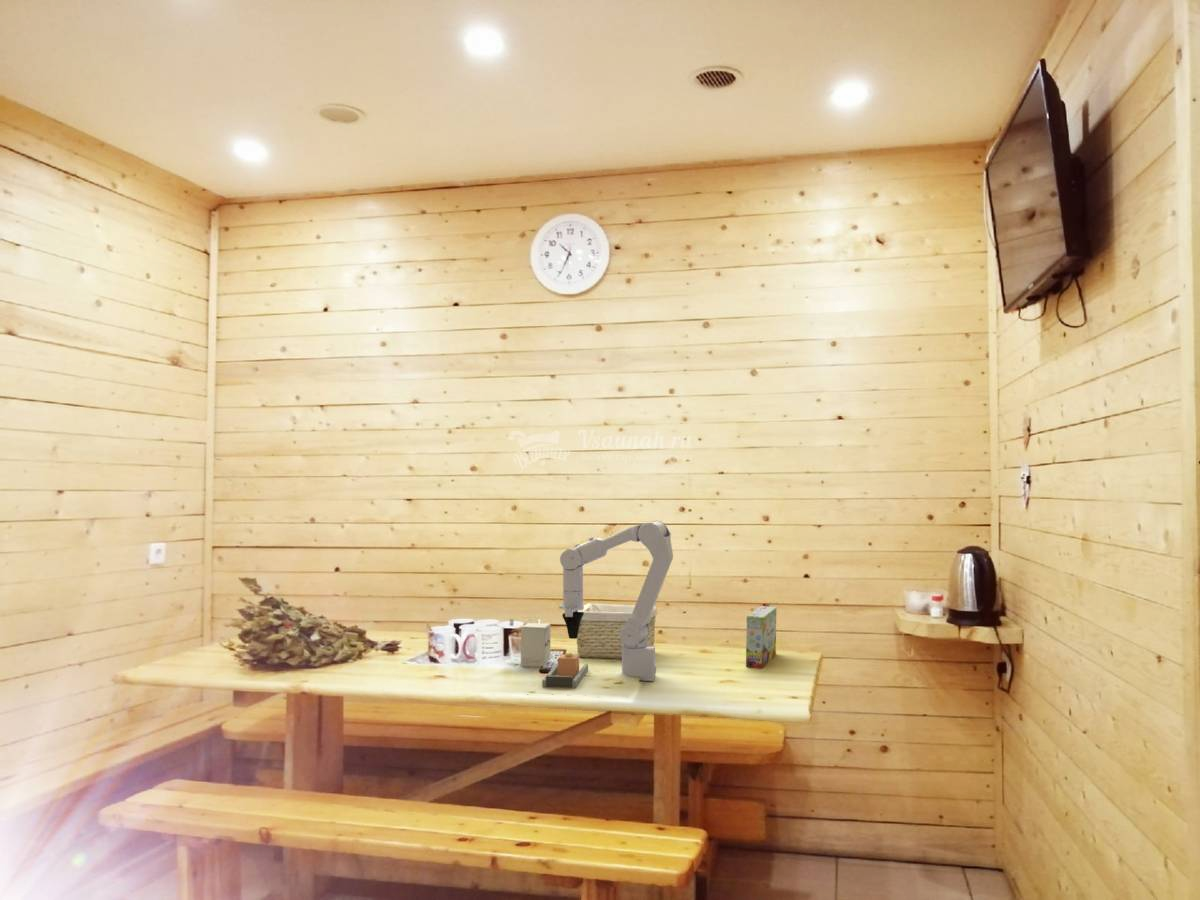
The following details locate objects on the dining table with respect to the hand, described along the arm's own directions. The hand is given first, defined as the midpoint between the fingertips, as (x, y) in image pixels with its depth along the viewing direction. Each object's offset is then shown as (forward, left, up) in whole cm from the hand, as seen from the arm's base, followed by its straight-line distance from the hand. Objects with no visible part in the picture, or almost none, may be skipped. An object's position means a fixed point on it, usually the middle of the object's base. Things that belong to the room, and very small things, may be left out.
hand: (573, 638), depth 245 cm
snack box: (-54, -22, -10) cm, 59 cm away
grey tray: (0, +12, -10) cm, 15 cm away
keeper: (0, +8, -9) cm, 11 cm away
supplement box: (+12, -4, -10) cm, 16 cm away
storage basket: (-9, -26, -10) cm, 29 cm away
